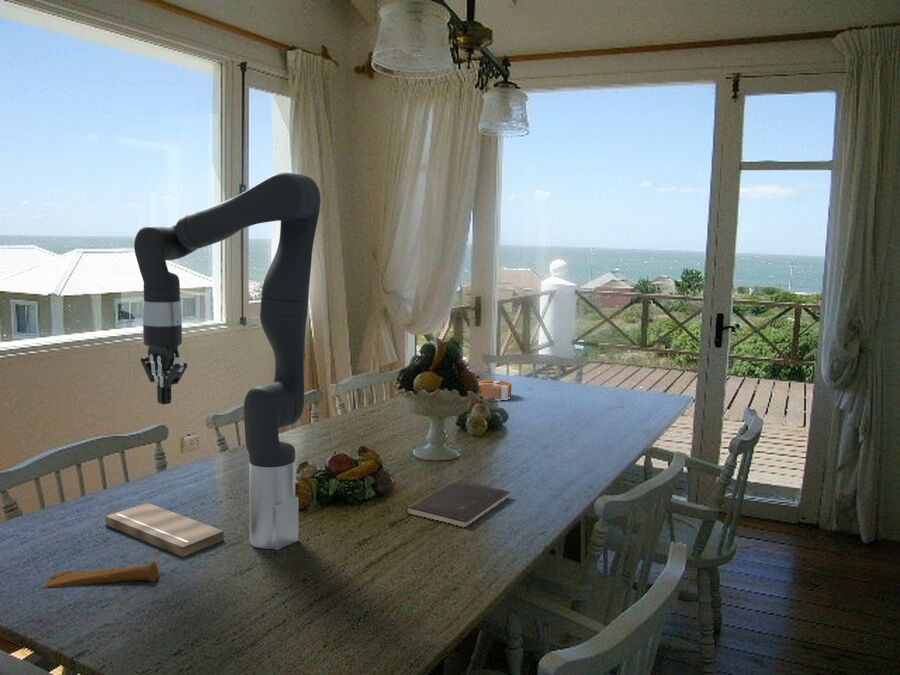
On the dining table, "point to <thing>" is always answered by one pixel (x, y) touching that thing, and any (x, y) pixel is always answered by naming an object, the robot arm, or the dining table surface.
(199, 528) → the pale wooden board
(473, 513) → the hardcover book
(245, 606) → the dining table surface
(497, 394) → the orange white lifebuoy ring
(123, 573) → the primitive tool
